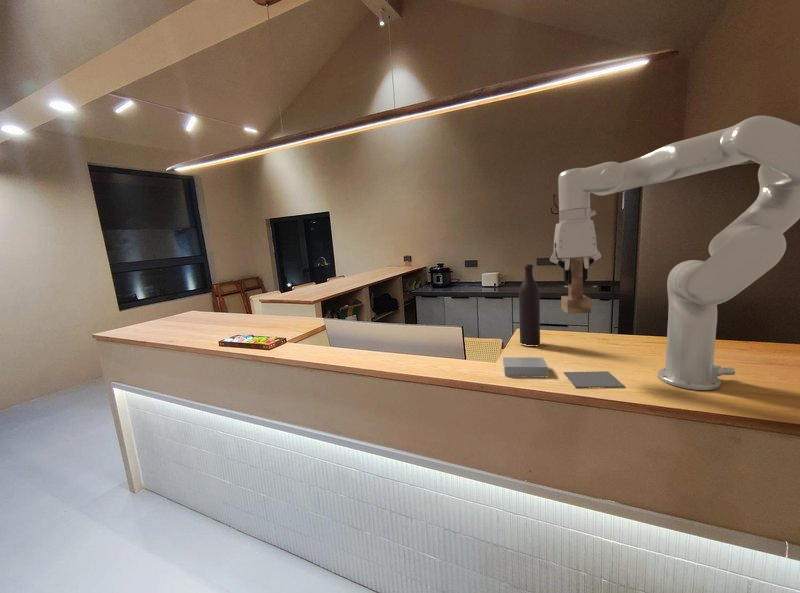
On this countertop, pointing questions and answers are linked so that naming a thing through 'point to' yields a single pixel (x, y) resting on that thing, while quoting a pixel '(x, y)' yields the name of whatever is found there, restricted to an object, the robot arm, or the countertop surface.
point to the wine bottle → (529, 309)
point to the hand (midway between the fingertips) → (575, 282)
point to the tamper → (576, 291)
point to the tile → (525, 366)
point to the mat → (593, 379)
